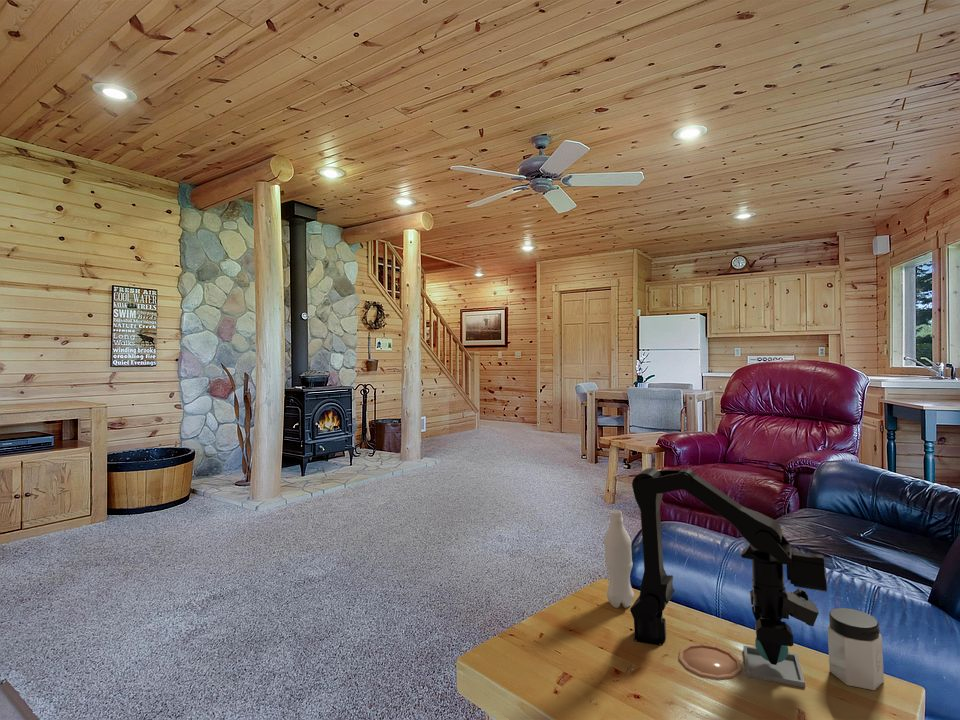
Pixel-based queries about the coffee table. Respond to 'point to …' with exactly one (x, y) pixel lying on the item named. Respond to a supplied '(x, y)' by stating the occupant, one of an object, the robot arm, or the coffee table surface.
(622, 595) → the water bottle
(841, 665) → the jar
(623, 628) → the coffee table surface
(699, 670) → the dish
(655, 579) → the robot arm
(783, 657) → the ball
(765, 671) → the tray
